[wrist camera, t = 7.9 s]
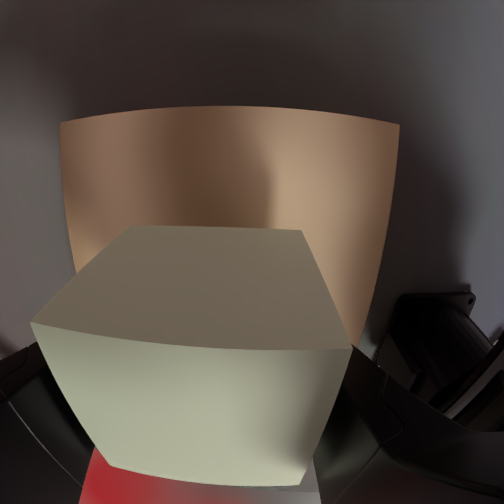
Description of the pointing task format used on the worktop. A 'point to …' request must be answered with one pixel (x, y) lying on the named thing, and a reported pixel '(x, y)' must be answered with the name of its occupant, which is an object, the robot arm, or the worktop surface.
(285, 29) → the worktop surface
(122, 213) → the oak riser block
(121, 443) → the sage cube
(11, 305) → the worktop surface
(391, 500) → the robot arm
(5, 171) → the worktop surface
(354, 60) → the worktop surface
